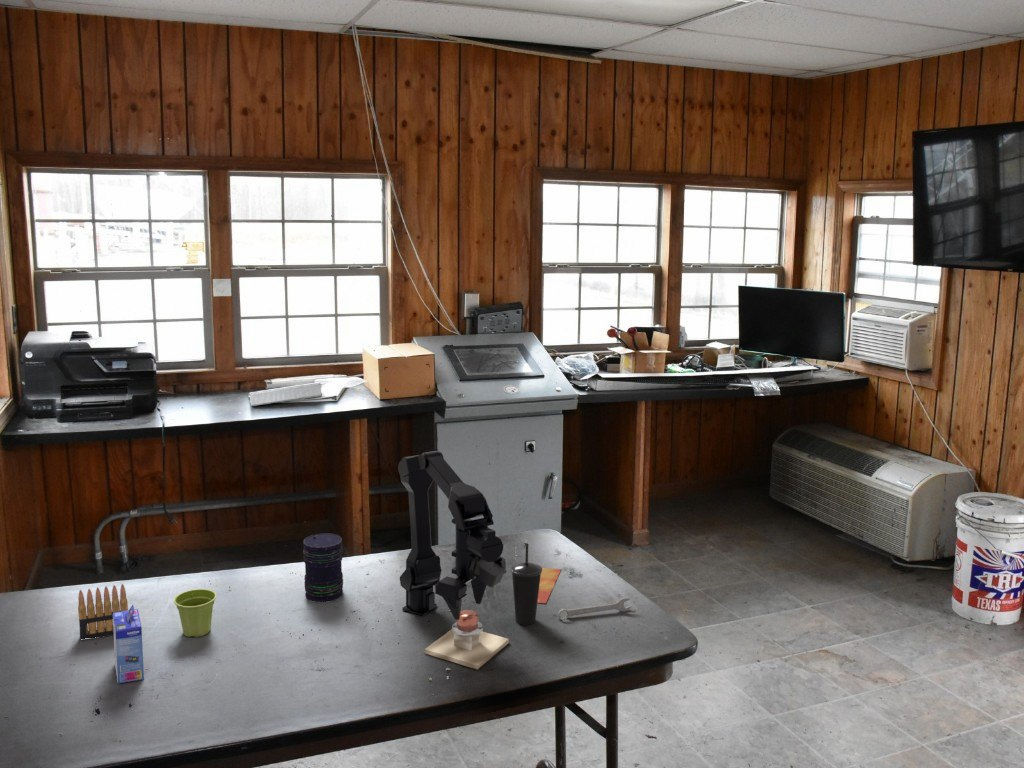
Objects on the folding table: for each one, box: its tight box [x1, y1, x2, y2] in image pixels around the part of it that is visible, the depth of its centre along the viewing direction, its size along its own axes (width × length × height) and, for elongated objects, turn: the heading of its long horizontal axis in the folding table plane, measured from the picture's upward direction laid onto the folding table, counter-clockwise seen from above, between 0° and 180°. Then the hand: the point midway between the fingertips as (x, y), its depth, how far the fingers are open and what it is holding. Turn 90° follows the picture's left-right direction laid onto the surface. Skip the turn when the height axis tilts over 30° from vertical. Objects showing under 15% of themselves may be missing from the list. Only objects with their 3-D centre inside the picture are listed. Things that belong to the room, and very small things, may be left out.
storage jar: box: [302, 532, 344, 603], centre depth 227 cm, size 10×10×15 cm
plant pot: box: [173, 588, 217, 638], centre depth 207 cm, size 9×9×9 cm
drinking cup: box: [510, 543, 543, 626], centre depth 214 cm, size 8×8×20 cm
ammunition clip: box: [77, 583, 129, 641], centre depth 204 cm, size 11×2×12 cm, turn 114°
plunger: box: [451, 609, 484, 637], centre depth 201 cm, size 7×7×7 cm
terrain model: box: [537, 567, 562, 604], centre depth 239 cm, size 25×22×1 cm
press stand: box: [424, 628, 510, 671], centre depth 202 cm, size 14×14×4 cm
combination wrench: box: [557, 597, 633, 621], centre depth 219 cm, size 4×1×20 cm
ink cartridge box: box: [113, 604, 145, 684], centre depth 188 cm, size 10×6×14 cm, turn 27°
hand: (467, 611), depth 200 cm, fingers open, 9 cm apart
